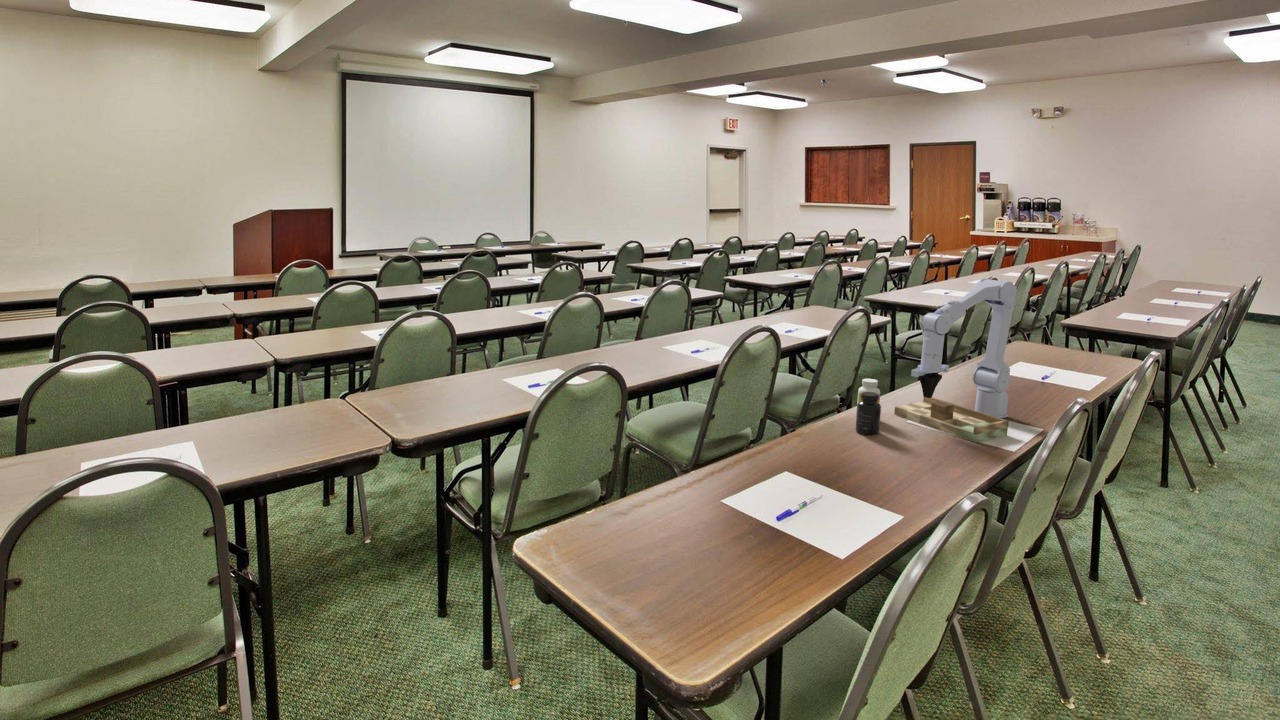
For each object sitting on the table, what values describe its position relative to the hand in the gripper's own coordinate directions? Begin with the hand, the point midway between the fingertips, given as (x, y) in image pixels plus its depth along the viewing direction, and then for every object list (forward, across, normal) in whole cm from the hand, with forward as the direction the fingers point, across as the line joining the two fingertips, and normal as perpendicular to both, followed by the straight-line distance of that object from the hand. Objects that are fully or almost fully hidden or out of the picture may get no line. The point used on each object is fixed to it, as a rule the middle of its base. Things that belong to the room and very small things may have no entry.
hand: (927, 397), depth 215 cm
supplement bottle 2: (+10, +19, -5) cm, 22 cm away
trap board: (+10, -9, +2) cm, 13 cm away
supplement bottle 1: (+10, +10, -14) cm, 20 cm away
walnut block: (+7, -6, +2) cm, 9 cm away
